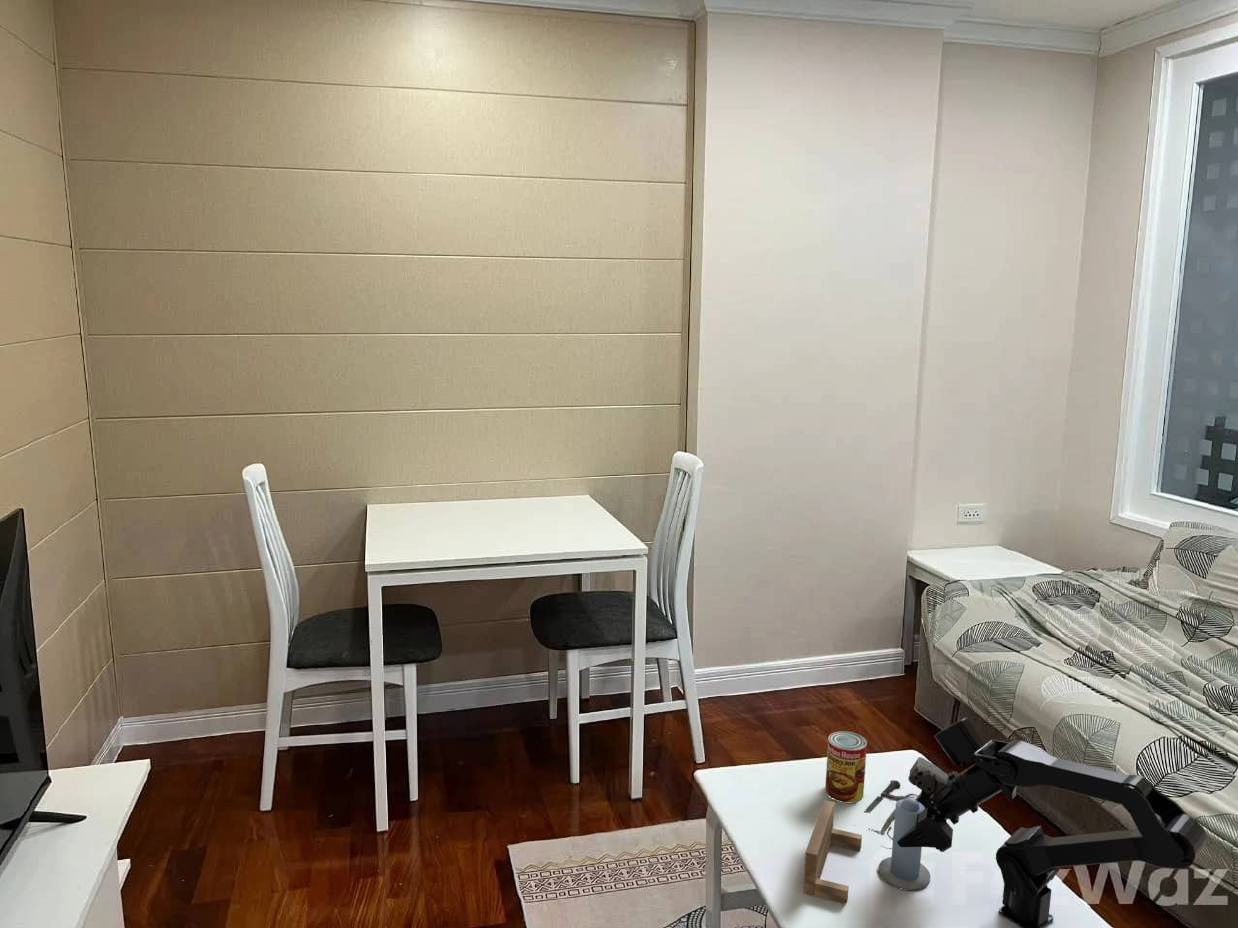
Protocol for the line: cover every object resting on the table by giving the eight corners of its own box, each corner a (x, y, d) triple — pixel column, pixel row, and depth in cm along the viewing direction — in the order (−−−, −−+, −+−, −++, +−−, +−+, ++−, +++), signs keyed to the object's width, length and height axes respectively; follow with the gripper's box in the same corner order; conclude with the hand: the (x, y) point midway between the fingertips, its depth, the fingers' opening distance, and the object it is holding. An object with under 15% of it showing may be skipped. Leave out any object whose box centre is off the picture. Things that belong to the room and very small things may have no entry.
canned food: (819, 794, 195) (822, 742, 192) (833, 778, 201) (836, 727, 199) (855, 807, 190) (858, 753, 188) (868, 790, 197) (872, 737, 194)
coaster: (940, 878, 168) (940, 875, 168) (908, 896, 163) (908, 893, 163) (900, 853, 175) (900, 850, 175) (868, 870, 170) (868, 867, 170)
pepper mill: (925, 874, 168) (931, 800, 165) (907, 883, 165) (913, 809, 163) (902, 859, 172) (908, 788, 169) (884, 869, 169) (890, 796, 167)
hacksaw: (892, 783, 201) (892, 776, 200) (939, 800, 194) (940, 793, 194) (842, 833, 182) (843, 826, 182) (893, 853, 176) (893, 846, 176)
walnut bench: (861, 846, 177) (863, 808, 176) (846, 903, 161) (849, 862, 159) (821, 837, 180) (823, 799, 178) (803, 892, 164) (805, 852, 162)
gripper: (942, 727, 171) (877, 770, 177) (936, 776, 154) (863, 821, 160) (985, 775, 170) (917, 816, 176) (982, 830, 153) (908, 873, 159)
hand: (901, 830), depth 168 cm, fingers open, 9 cm apart
